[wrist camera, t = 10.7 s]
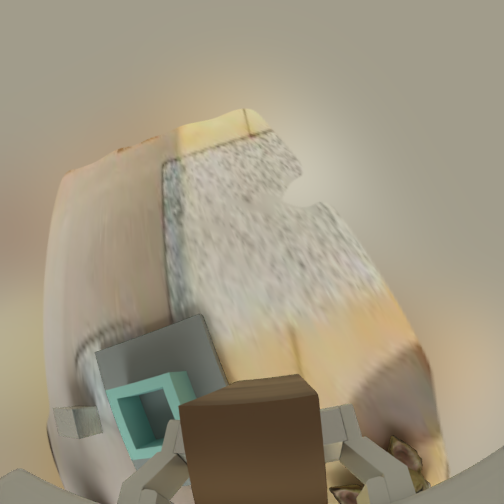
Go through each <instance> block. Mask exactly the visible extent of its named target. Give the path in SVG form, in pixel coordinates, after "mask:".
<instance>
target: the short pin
mask: <svg viewBox="0 0 504 504" xmlns="http://www.w3.org/2000/svg"><path fill="white" fill-rule="evenodd" d="M53 411H54V416H55V420H56V425H57V429H58V433H59V436H63V437H69V438H76V439H81V438H85V437H89V436H93V435H96V434H100V433H103V431H102V427H101V423H100V418H99V414H98V409H97V406H72V407H60V408H53Z"/></svg>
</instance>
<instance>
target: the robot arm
mask: <svg viewBox="0 0 504 504" xmlns="http://www.w3.org/2000/svg"><path fill="white" fill-rule="evenodd" d="M320 416H321V425H322V435H323V446H324V457H325V463H327V462H333V461H338V460H340V462H341V463H342V464H343V465H344V466H345V467H346V468H347V469H348V470H349V471H350V472H351V473H352V474H353V475H354V476H356V477H357V478H358V479H359V480H360V481H361V482H362V483H363V484H364V485H365V486H364V487H363V489H362V490H361V492H360V493H359V495H358V496H357V498H356V500H357V504H504V446H503V447H501V448H500V449H498V450H497V451H495V452H494V453H492V454H491V455H489V456H488V457H486V458H485V459H483V460H481V461H480V462H478V463H477V464H475V465H473V466H472V467H470V468H468V469H466V470H464V471H463V472H461V473H459V474H457V475H455V476H453V477H451V478H449V479H447V480H445V481H443V482H441V483H439V484H437V485H435V486H433V487H430V488H428V489H426V490H424V491H421V492H419V493H416V492H415V489H414V486H413V483H412V480H411V476H410V473H409V470H408V467H407V466H406V465H405V464H403V463H402V462H400V461H399V460H398V459H396V458H395V457H393V456H392V455H391V454H389V453H388V452H386V451H385V450H384V449H382V448H381V447H379V446H378V445H377V444H375V443H374V442H373V441H371V440H370V439H369V438H367V437H366V436H365V437H362V435H361V431H360V428H359V425H358V421H357V418H356V415H355V411H354V408H353V405H352V404H351V403H349V404H345V405H340V406H334V407H330V408H325V409H320ZM188 478H189V472H188V467H187V462H186V456H185V450H184V444H183V437H182V430H181V423H180V420H170V421H169V422H168V424H167V428H166V432H165V437H164V441H163V445H162V449H161V452H157V453H156V454H155V455H154V456H153V457H152V458H150V459H149V460H148V461H147V462H146V463H145V464H144V465H143V466H142V467H140V468H139V469H138V470H137V471H136V472H135V473H134V474H133V475H131V476H130V477H129V478H128V479H127V480H126V481H124V482H123V483H122V487H121V491H120V494H119V498H118V502H117V504H174V503H172V502H171V501H169V500H170V499H171V498H172V497H173V496H174V495H175V493H176V492H177V491H178V490H179V489H180V488H181V486H182V485H183V484H184V483H185V482H186V480H187V479H188ZM0 504H100V503H97V502H94V501H91V500H89V499H86V498H83V497H81V496H78V495H76V494H73V493H71V492H68V491H66V490H64V489H62V488H59V487H57V486H55V485H53V484H51V483H49V482H46V481H44V480H43V479H41V478H39V477H37V476H35V475H33V474H31V473H29V472H28V471H26V470H24V469H16V470H13V471H11V472H10V473H8V474H6V475H5V476H3V477H1V478H0Z"/></svg>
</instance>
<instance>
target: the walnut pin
mask: <svg viewBox="0 0 504 504" xmlns="http://www.w3.org/2000/svg"><path fill="white" fill-rule="evenodd" d="M178 408H179V416H180V423H181V430H182V437H183V444H184V450H185V456H186V462H187V467H188V472H189V478H190V483H191V488H192V492H193V497H194V501H195V504H328V499H327V483H326V469H325V457H324V446H323V435H322V425H321V416H320V407H319V398H318V394H317V393H316V392H315V391H314V389H313V388H312V387H311V386H310V385H309V384H308V383H307V382H306V381H305V380H304V379H303V378H302V377H301V376H300V375H299V374H294V375H287V376H280V377H272V378H263V379H254V380H243V381H237V382H235V383H233V384H230V385H228V386H226V387H223V388H221V389H219V390H216V391H214V392H212V393H209V394H207V395H204V396H202V397H199V398H197V399H194V400H192V401H189V402H187V403H184V404H181V405H179V406H178Z"/></svg>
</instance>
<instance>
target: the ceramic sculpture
mask: <svg viewBox="0 0 504 504" xmlns="http://www.w3.org/2000/svg"><path fill="white" fill-rule="evenodd" d="M388 453H389V454H391V455H392V456H393V457H395V458H396V459H398V460H399V461H400V462H402V463H403V464H405V465H406V466H407V467H408V470H409V473H410V476H411V480H412V483H413V486H414V489H415V492H416V493H419V492H421V491H424V490H426V489H428V488H430V487H431V485H430V483H429V482H428V481H426V480H425V479H424V477H423V476H422V474H421V470H422V459H421V458H420V457H419V455H418V453H417V451H416V450H415V449H413V448H412V447H411V446H409V445H408V444H406V443H405V442H403V441H402V440H399V439H398V438H396V437H395V436H391V438H390V444H389V448H388ZM362 489H363V488H362V487H361V486H359V485H356V484H353V485H346V486H339V487H330V488H329V490H330V491H331V493H332V494H333V495H334V497H335V498H336V499H337V501H338V502H339V503H340V504H357V500H356V498H357V496H358V495H359V493H360V492H361V490H362Z"/></svg>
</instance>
